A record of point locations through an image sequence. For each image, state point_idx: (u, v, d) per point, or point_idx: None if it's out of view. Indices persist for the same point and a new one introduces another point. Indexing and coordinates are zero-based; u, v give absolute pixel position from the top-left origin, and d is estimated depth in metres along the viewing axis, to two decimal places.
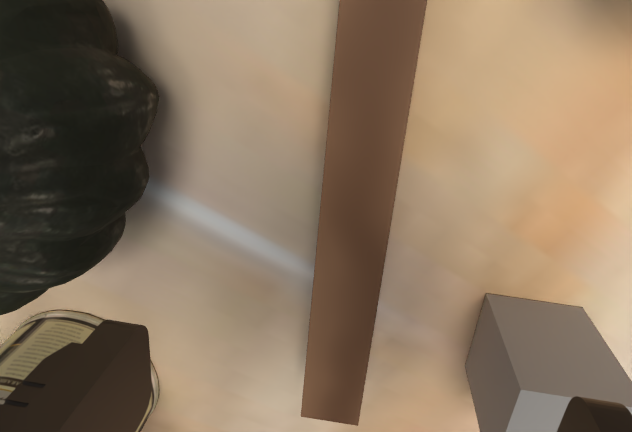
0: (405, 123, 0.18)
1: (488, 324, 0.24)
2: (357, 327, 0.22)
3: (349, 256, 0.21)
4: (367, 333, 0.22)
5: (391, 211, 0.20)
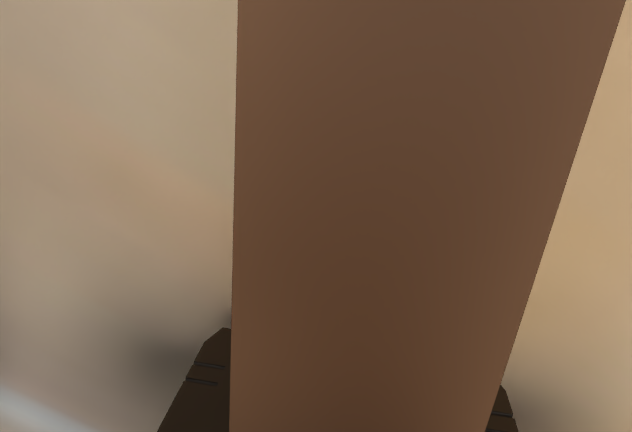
0: (487, 404, 0.05)
1: None
2: None
3: None
4: None
5: None
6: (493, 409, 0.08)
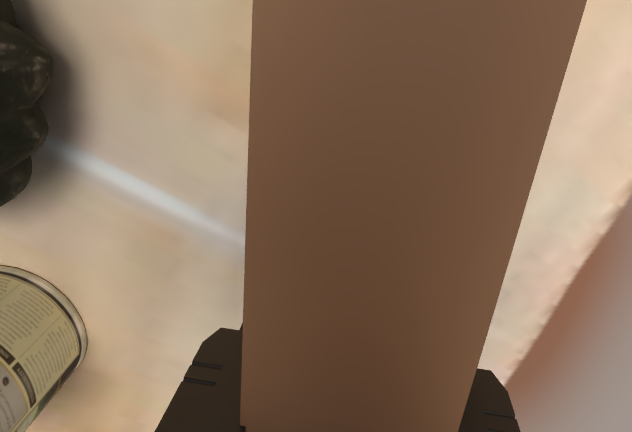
0: (472, 365, 0.06)
1: None
2: None
3: None
4: None
5: None
6: (495, 410, 0.08)
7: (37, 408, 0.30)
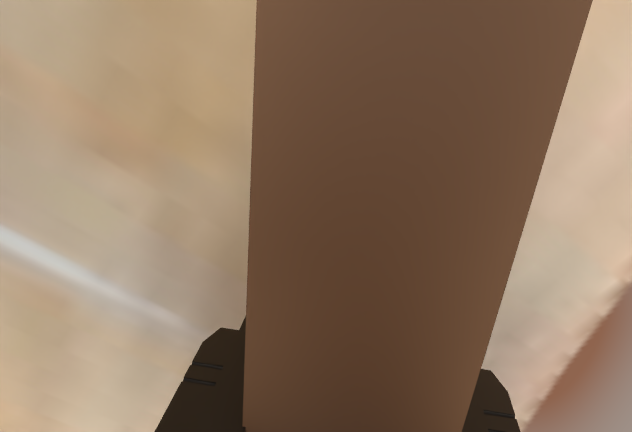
0: (476, 366, 0.06)
1: None
2: None
3: None
4: None
5: None
6: (495, 410, 0.08)
7: None
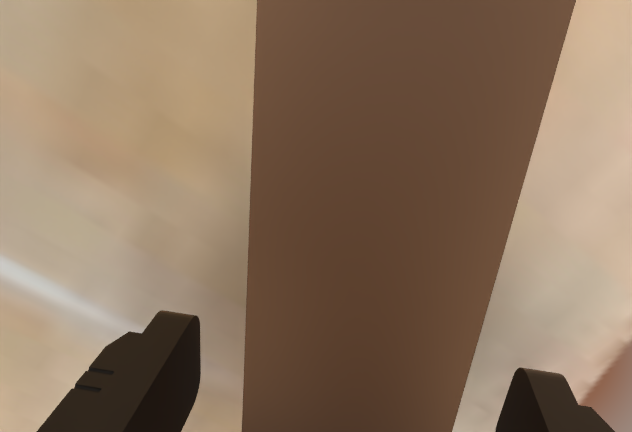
0: (469, 350, 0.06)
1: None
2: None
3: None
4: None
5: None
6: None
7: None
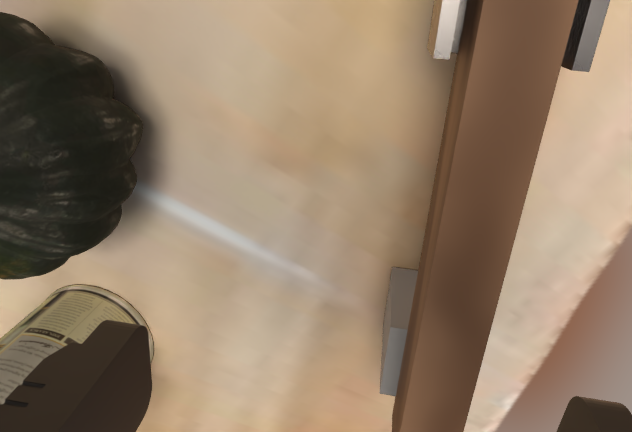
0: (518, 217, 0.19)
1: (390, 289, 0.33)
2: (455, 399, 0.23)
3: (453, 335, 0.22)
4: (465, 405, 0.23)
5: (498, 296, 0.20)
6: None
7: None
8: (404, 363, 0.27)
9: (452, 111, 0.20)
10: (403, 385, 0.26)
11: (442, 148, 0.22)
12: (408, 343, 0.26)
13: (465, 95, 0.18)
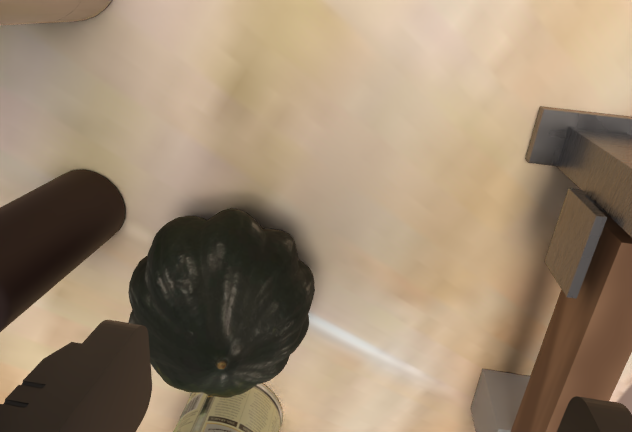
0: (613, 389, 0.30)
1: (483, 387, 0.44)
2: None
3: None
4: None
5: None
6: None
7: None
8: None
9: (567, 314, 0.32)
10: None
11: (553, 327, 0.33)
12: None
13: (588, 324, 0.29)
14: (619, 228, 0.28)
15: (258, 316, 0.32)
